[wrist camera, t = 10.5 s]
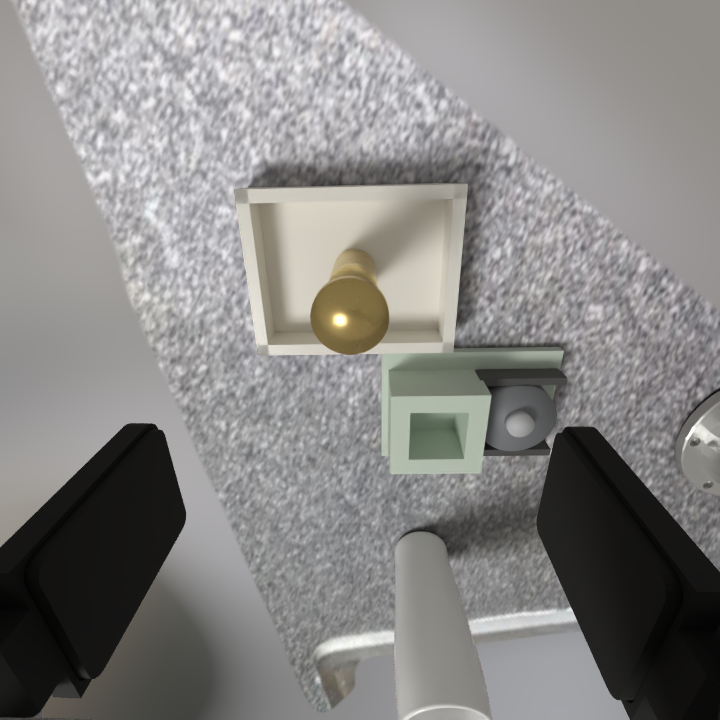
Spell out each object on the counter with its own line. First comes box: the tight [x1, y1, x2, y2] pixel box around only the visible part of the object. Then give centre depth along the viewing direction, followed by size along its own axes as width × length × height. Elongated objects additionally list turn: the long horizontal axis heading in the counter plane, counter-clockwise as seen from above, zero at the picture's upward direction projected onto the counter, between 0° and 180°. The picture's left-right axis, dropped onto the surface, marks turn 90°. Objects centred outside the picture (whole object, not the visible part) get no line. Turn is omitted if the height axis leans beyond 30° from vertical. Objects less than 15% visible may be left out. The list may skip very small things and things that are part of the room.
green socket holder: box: [381, 347, 567, 474], centre depth 31 cm, size 14×10×5 cm
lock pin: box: [310, 249, 389, 355], centre depth 24 cm, size 4×4×10 cm
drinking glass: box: [394, 531, 492, 720], centre depth 34 cm, size 7×7×15 cm
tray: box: [234, 183, 468, 355], centre depth 27 cm, size 14×11×3 cm
